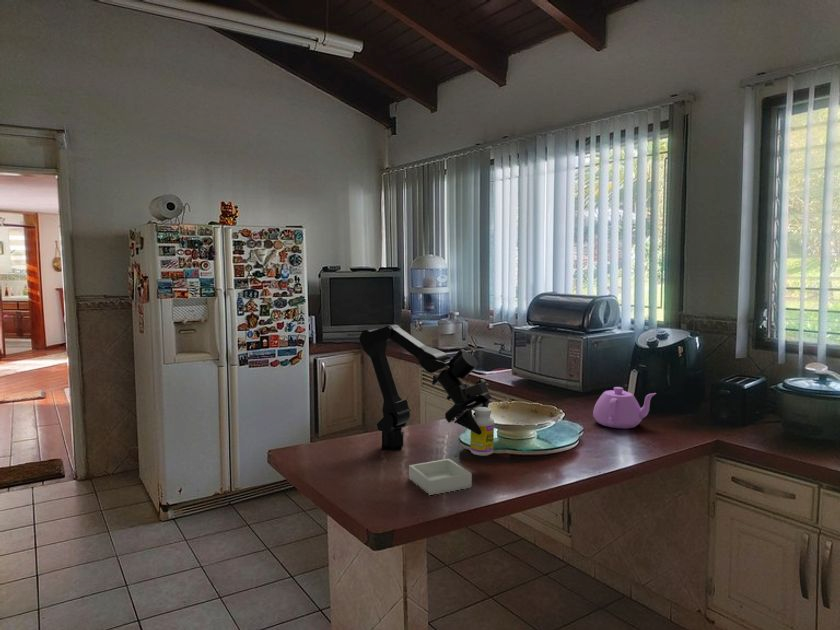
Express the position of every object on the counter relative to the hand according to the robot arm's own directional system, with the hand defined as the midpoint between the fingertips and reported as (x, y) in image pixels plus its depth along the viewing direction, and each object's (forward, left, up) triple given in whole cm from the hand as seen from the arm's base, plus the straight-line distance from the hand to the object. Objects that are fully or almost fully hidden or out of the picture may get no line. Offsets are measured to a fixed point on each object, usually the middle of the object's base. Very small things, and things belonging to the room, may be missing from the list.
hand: (486, 430), depth 167 cm
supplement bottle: (-1, +1, -7) cm, 7 cm away
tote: (-13, -10, -12) cm, 21 cm away
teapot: (+54, +48, -12) cm, 73 cm away
